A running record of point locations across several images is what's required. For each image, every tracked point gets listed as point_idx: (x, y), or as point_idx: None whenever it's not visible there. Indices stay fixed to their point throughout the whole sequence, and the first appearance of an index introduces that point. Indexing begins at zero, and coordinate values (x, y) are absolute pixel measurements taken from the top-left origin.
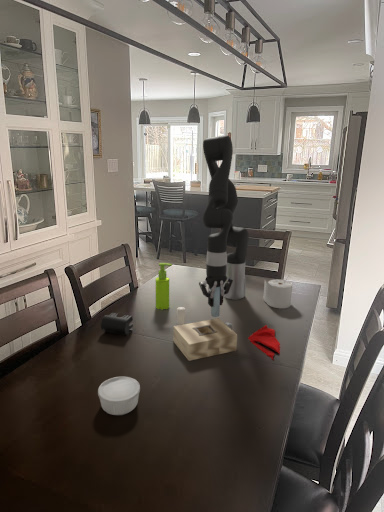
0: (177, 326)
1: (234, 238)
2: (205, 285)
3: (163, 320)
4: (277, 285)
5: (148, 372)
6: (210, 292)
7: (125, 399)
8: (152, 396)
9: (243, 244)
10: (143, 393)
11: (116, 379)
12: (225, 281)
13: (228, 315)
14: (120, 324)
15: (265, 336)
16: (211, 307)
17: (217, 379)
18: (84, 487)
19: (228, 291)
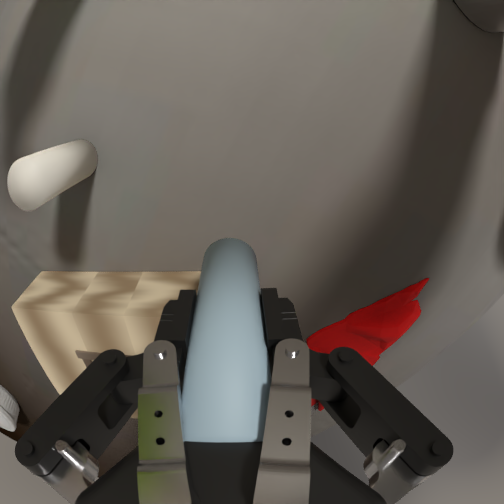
0: (23, 314)
1: None
2: (87, 472)
3: (33, 80)
4: None
5: (11, 361)
6: (170, 380)
7: (6, 429)
8: (33, 404)
9: None
10: (20, 394)
11: None
12: (374, 462)
13: (371, 127)
14: None
15: (366, 341)
16: (198, 289)
17: (137, 425)
18: (15, 437)
19: (349, 400)
